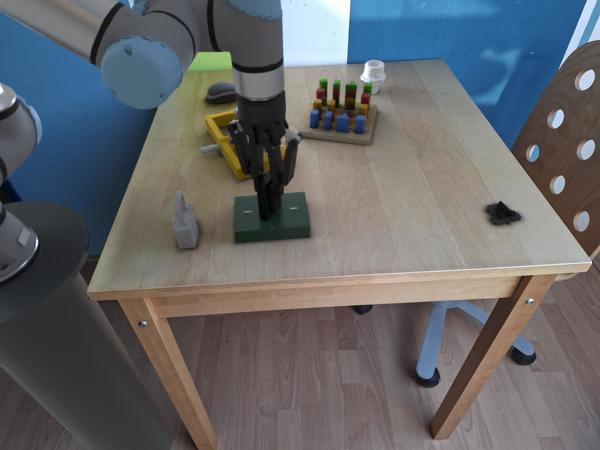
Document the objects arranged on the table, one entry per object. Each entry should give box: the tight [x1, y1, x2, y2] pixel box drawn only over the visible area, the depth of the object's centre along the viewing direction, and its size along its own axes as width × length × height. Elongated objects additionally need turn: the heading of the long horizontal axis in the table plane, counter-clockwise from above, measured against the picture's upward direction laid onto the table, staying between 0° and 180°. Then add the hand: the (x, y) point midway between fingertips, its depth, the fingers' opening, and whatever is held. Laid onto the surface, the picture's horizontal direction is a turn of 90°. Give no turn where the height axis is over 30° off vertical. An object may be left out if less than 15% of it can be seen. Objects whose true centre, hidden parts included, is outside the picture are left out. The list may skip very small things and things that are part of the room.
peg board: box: [298, 77, 378, 146], centre depth 106 cm, size 18×17×9 cm
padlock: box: [171, 190, 200, 250], centre depth 77 cm, size 7×4×10 cm, turn 8°
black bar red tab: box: [256, 169, 282, 221], centre depth 78 cm, size 6×2×8 cm, turn 155°
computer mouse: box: [205, 80, 237, 104], centre depth 119 cm, size 7×12×4 cm, turn 112°
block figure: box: [485, 200, 522, 226], centre depth 82 cm, size 6×2×6 cm
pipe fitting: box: [360, 59, 387, 95], centre depth 118 cm, size 6×7×8 cm
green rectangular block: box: [233, 191, 311, 244], centre depth 82 cm, size 14×10×3 cm
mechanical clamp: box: [199, 107, 287, 181], centre depth 100 cm, size 18×6×30 cm
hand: (270, 206), depth 80 cm, fingers closed on black bar red tab, 2 cm apart
